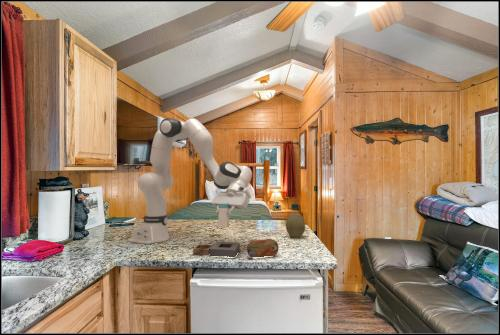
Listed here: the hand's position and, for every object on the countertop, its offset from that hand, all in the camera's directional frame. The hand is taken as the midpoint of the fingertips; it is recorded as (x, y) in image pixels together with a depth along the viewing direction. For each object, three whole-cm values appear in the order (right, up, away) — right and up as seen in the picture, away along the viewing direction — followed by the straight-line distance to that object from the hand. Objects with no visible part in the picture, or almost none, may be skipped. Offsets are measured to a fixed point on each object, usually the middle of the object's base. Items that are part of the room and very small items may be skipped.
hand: (222, 214), depth 121 cm
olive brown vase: (+40, -20, +31) cm, 54 cm away
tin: (+19, -19, -4) cm, 27 cm away
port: (+1, -19, 0) cm, 19 cm away
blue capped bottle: (0, -6, 0) cm, 6 cm away
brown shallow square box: (-10, -19, +2) cm, 22 cm away
